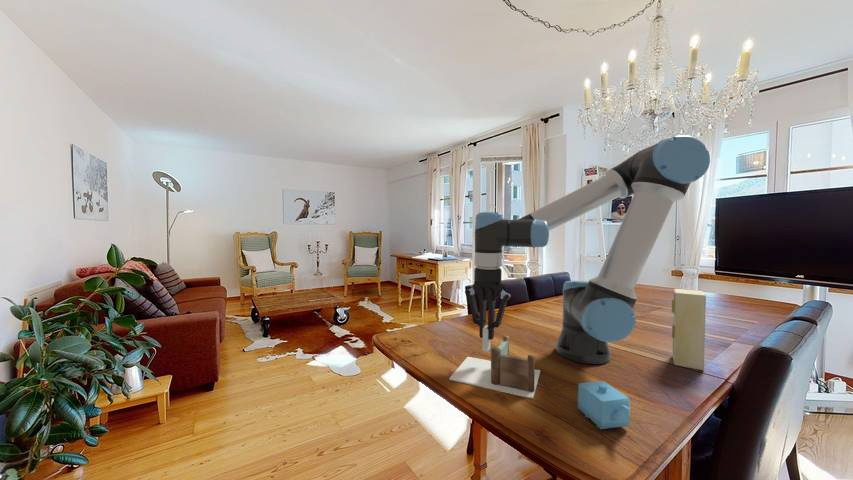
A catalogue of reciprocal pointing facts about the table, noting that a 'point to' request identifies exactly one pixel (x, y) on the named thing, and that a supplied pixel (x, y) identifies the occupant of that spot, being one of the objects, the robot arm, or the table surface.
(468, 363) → the card
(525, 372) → the fixed fence
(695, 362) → the toy refrigerator
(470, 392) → the table surface
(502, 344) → the swing panel
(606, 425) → the teapot
